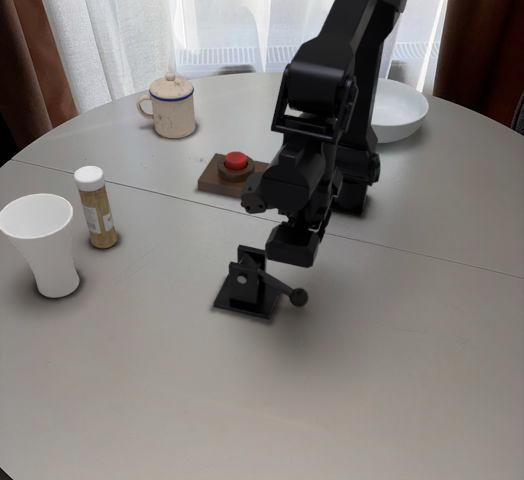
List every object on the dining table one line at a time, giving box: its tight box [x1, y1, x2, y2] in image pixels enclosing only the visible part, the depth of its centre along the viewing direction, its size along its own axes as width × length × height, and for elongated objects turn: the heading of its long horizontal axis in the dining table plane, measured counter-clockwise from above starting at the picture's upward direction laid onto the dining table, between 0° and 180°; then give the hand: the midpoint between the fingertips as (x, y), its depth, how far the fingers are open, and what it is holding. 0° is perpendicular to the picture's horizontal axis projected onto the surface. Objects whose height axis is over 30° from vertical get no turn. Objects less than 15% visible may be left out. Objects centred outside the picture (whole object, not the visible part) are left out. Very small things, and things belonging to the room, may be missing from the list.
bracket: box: [212, 244, 281, 321], centre depth 88 cm, size 9×7×9 cm
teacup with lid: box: [136, 71, 196, 139], centre depth 120 cm, size 12×9×12 cm
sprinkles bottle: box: [73, 165, 118, 249], centre depth 95 cm, size 5×5×14 cm
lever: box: [239, 253, 310, 308], centre depth 87 cm, size 12×3×3 cm, turn 73°
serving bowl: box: [336, 77, 430, 144], centre depth 123 cm, size 21×21×7 cm
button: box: [225, 151, 247, 171], centre depth 109 cm, size 4×4×2 cm
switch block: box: [197, 152, 271, 200], centre depth 111 cm, size 12×10×4 cm
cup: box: [0, 193, 80, 299], centre depth 88 cm, size 10×10×14 cm
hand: (301, 261), depth 83 cm, fingers closed
